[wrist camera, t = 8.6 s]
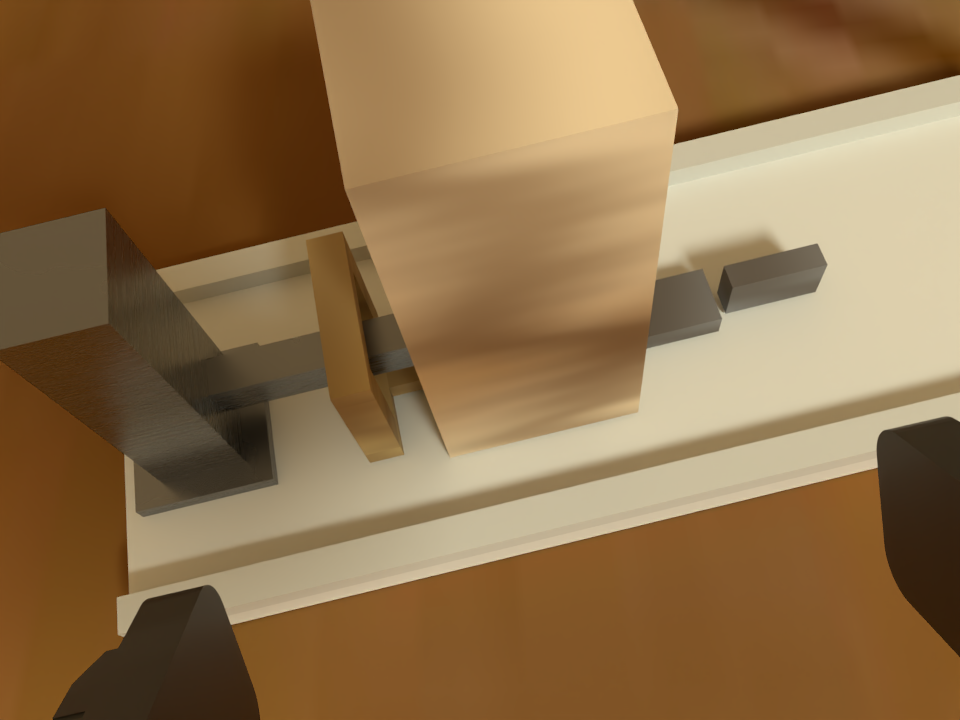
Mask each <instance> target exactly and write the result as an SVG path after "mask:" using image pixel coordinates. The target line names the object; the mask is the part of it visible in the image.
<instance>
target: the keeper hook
mask: <svg viewBox="0 0 960 720" xmlns="http://www.w3.org/2000/svg"><path fill="white" fill-rule="evenodd" d="M362 325H363V331H364V336H365V342H366V347H367V353H368V359H369V364H370V369H371V371H372V373H373V375H379V374H383V373H387V372H391V371H395V370H399V369H403V368H407V367H412V366H414V365H413V362H412V359H411V357H410V354H409V352H408V349H407V347H406V344H405V342H404V339H403V337H402V334H401V331H400V329H399V326H398V324H397V321H396V319H395V316H394V314H389V315H385V316H381V317H377V318H373V319H368V320H364V321H362ZM0 360H1V361H2V362H3V363H5V364H6V365H7V366H9V367H10V368H11V369H13V370H14V371H15V372H17V373H18V374H19V375H21V376H22V377H23V378H25V379H26V380H27V381H29V382H30V383H31V384H32V385H34V386H35V387H36V388H38V389H39V390H40V391H42V392H43V393H44V394H46V395H47V396H48V397H50V398H51V399H52V400H54V401H55V402H56V403H58V404H59V405H60V406H61V407H63V408H64V409H65V410H67V411H68V412H69V413H71V414H72V415H73V416H75V417H76V418H77V419H79V420H80V421H81V422H83V423H84V424H85V425H87V426H88V427H89V428H90V429H92V430H93V431H94V432H96V433H97V434H98V435H100V436H101V437H102V438H104V439H105V440H106V441H108V442H109V443H110V444H112V445H113V446H114V447H116V448H117V449H118V450H119V451H121V452H122V453H123V454H125V455H126V456H127V457H129V458H130V459H131V460H133V461H134V485H135V510H136V513H138V514H139V515H141V516H142V517H146V516H150V515H154V514H159V513H163V512H167V511H171V510H175V509H179V508H183V507H187V506H191V505H196V504H200V503H204V502H208V501H212V500H216V499H220V498H224V497H228V496H233V495H237V494H241V493H245V492H249V491H253V490H257V489H261V488H266V487H270V486H274V485H278V476H277V468H276V459H275V451H274V442H273V434H272V425H271V417H270V408H269V401H272V400H276V399H280V398H284V397H288V396H292V395H296V394H300V393H304V392H309V391H313V390H317V389H321V388H325V387H328V383H327V376H326V370H325V363H324V357H323V350H322V344H321V337H320V331H319V332H315V333H311V334H307V335H302V336H298V337H294V338H290V339H286V340H282V341H278V342H274V343H269V344H265V345H261V346H260V345H259V344H258V343H253V344H249V345H245V346H240V347H236V348H232V349H228V350H224V351H220V350H219V348H218V347H217V346H216V345H215V343H214V342H213V341H212V340H211V338H210V337H209V336H208V335H207V333H206V332H205V331H204V330H203V328H202V327H201V326H200V325H199V323H198V322H197V321H196V320H195V318H194V317H193V316H192V315H191V314H190V312H189V311H188V310H187V309H186V307H185V306H184V305H183V304H182V302H181V301H180V300H179V299H178V297H177V296H176V295H175V294H174V292H173V291H172V290H171V289H170V287H169V286H168V285H167V284H166V283H165V281H164V280H163V279H162V278H161V276H160V275H159V274H158V273H157V271H156V270H155V269H154V268H153V266H152V265H151V264H150V263H149V261H148V260H147V259H146V258H145V256H144V255H143V254H142V253H141V251H140V250H139V249H138V248H137V247H136V245H135V244H134V243H133V242H132V240H131V239H130V238H129V237H128V235H127V234H126V233H125V232H124V230H123V229H122V228H121V227H120V225H119V224H118V223H117V222H116V220H115V219H114V218H113V217H112V215H111V214H110V213H109V212H108V211H107V209H106V208H102V209H98V210H94V211H90V212H86V213H82V214H78V215H73V216H69V217H65V218H61V219H57V220H53V221H49V222H45V223H40V224H36V225H32V226H28V227H24V228H20V229H16V230H12V231H7V232H3V233H0Z"/></svg>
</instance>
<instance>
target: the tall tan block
mask: <svg viewBox="0 0 960 720" xmlns="http://www.w3.org/2000/svg"><path fill="white" fill-rule="evenodd" d="M310 2H311V8H312V13H313V19H314V24H315V30H316V35H317V40H318V46H319V51H320V57H321V62H322V68H323V73H324V79H325V84H326V89H327V95H328V100H329V106H330V111H331V117H332V122H333V128H334V133H335V139H336V144H337V149H338V155H339V160H340V166H341V171H342V177H343V182H344V188H345V191H346V194H347V196H348V199H349V201H350V204H351V207H352V209H353V212H354V214H355V217H356V219H357V222H358V224H359V227H360V229H361V232H362V235H363V237H364V240H365V242H366V245H367V247H368V250H369V252H370V255H371V258H372V260H373V263H374V265H375V268H376V270H377V273H378V275H379V278H380V280H381V283H382V286H383V288H384V291H385V293H386V296H387V298H388V301H389V303H390V306H391V308H392V311H393V314H394V316H395V319H396V321H397V324H398V326H399V329H400V331H401V334H402V337H403V339H404V342H405V344H406V347H407V349H408V352H409V354H410V357H411V359H412V362H413V365H414V366H412V367H407V368H403V369H399V370H395V371H391V372H387V373H383V374H379V375H373V373H372V371H371V369H370V364H369V359H368V353H367V347H366V342H365V336H364V331H363V325H362V321H364V320H368V319H373V318H377V317H378V314H377V311H376V309H375V307H374V304H373V302H372V300H371V297H370V295H369V293H368V290H367V288H366V285H365V283H364V281H363V278H362V276H361V274H360V271H359V269H358V267H357V264H356V262H355V260H354V257H353V255H352V253H351V250H350V248H349V245H348V243H347V241H346V238H345V236H344V234H343V231H341V232H337V233H333V234H329V235H325V236H321V237H317V238H313V239H308V240H306V246H307V252H308V259H309V265H310V272H311V278H312V285H313V291H314V298H315V305H316V311H317V318H318V324H319V331H320V337H321V344H322V350H323V357H324V363H325V370H326V376H327V383H328V390H329V396H330V400H331V402H332V403H333V405H334V407H335V408H336V410H337V411H338V413H339V414H340V416H341V418H342V419H343V421H344V422H345V424H346V426H347V427H348V429H349V430H350V432H351V433H352V435H353V437H354V438H355V440H356V441H357V443H358V445H359V446H360V448H361V449H362V451H363V452H364V454H365V456H366V457H367V459H368V460H369V462H370V463H372V462H376V461H380V460H384V459H389V458H393V457H397V456H401V455H404V451H403V445H402V440H401V435H400V429H399V424H398V419H397V414H396V408H395V403H394V398H393V396H397V395H401V394H405V393H410V392H414V391H418V390H422V389H423V390H424V393H425V395H426V398H427V400H428V403H429V405H430V408H431V410H432V413H433V416H434V418H435V421H436V423H437V426H438V428H439V431H440V433H441V436H442V438H443V441H444V444H445V446H446V449H447V451H448V454H449V456H450V458H452V457H456V456H460V455H464V454H468V453H472V452H476V451H480V450H485V449H489V448H493V447H497V446H501V445H505V444H509V443H513V442H517V441H522V440H526V439H530V438H534V437H538V436H542V435H546V434H550V433H554V432H559V431H563V430H567V429H571V428H575V427H579V426H583V425H587V424H592V423H596V422H600V421H604V420H608V419H612V418H616V417H620V416H624V415H629V414H633V413H637V412H638V409H639V402H640V394H641V387H642V379H643V371H644V364H645V356H646V349H647V348H651V347H655V346H660V345H664V344H668V343H672V342H676V341H680V340H684V339H688V338H693V337H697V336H701V335H705V334H709V333H713V332H717V331H719V328H720V325H721V321H722V317H721V315H720V312H719V310H718V307H717V304H716V302H715V299H714V297H713V294H712V292H711V289H710V287H709V284H708V282H707V279H706V277H705V274H704V272H703V269H699V270H695V271H691V272H687V273H683V274H679V275H675V276H670V277H666V278H662V279H658V280H656V273H657V266H658V258H659V251H660V243H661V236H662V228H663V220H664V213H665V205H666V198H667V190H668V183H669V175H670V168H671V160H672V153H673V145H674V137H675V130H676V122H677V115H678V107H677V105H676V102H675V100H674V97H673V95H672V93H671V90H670V88H669V86H668V83H667V81H666V78H665V76H664V74H663V71H662V69H661V67H660V64H659V62H658V59H657V57H656V55H655V52H654V50H653V48H652V45H651V43H650V40H649V38H648V36H647V33H646V31H645V29H644V26H643V24H642V21H641V19H640V17H639V14H638V12H637V10H636V7H635V5H634V2H633V0H310ZM826 267H827V262H826V260H825V258H824V256H823V254H822V252H821V250H820V248H819V245H818V243H817V244H813V245H808V246H804V247H800V248H796V249H792V250H788V251H784V252H780V253H776V254H771V255H767V256H763V257H759V258H755V259H751V260H747V261H743V262H738V263H734V264H730V265H726V266H724V267H723V271H722V275H721V279H720V283H719V287H718V291H717V294H718V296H719V299H720V301H721V304H722V306H723V309H724V311H725V314H727V313H731V312H735V311H739V310H743V309H747V308H751V307H755V306H760V305H764V304H768V303H772V302H776V301H780V300H784V299H788V298H792V297H797V296H801V295H805V294H809V293H813V292H816V290H817V287H818V285H819V283H820V281H821V279H822V276H823V274H824V272H825V270H826Z"/></svg>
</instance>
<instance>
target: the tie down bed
mask: <svg viewBox="0 0 960 720" xmlns="http://www.w3.org/2000/svg"><path fill="white" fill-rule="evenodd" d="M341 231H343V234H344V236H345V238H346V241H347V243H348V245H349V248H350V250H351V253H352V255H353V257H354V260H355V262H356V264H357V267H358V269H359V271H360V274H361V276H362V278H363V281H364V283H365V285H366V288H367V290H368V293H369V295H370V297H371V300H372V302H373V304H374V307H375V309H376V311H377V314H378V317H381V316H385V315H389V314H393V311H392V308H391V306H390V303H389V301H388V298H387V296H386V293H385V291H384V288H383V286H382V283H381V280H380V278H379V275H378V273H377V270H376V268H375V265H374V263H373V260H372V258H371V255H370V252H369V250H368V247H367V245H366V242H365V240H364V237H363V235H362V232H361V229H360V227H359V224H358V222H357V221H356V222H352V223H348V224H344V225H340V226H335V227H331V228H327V229H323V230H319V231H315V232H311V233H307V234H302V235H298V236H294V237H290V238H286V239H282V240H278V241H274V242H269V243H265V244H261V245H257V246H253V247H249V248H245V249H241V250H236V251H232V252H228V253H224V254H220V255H216V256H212V257H208V258H203V259H199V260H195V261H191V262H187V263H183V264H179V265H175V266H170V267H166V268H162V269H158V270H156V271H157V273H158V274H159V275H160V276H161V278H162V279H163V280H164V281H165V283H166V284H167V285H168V286H169V287H170V289H171V290H172V291H173V292H174V294H175V295H176V296H177V297H178V299H179V300H180V301H181V302H182V304H183V305H184V306H185V307H186V309H187V310H188V311H189V312H190V314H191V315H192V316H193V317H194V318H195V320H196V321H197V322H198V323H199V325H200V326H201V327H202V328H203V330H204V331H205V332H206V333H207V335H208V336H209V337H210V338H211V340H212V341H213V342H214V343H215V345H216V346H217V347H218V348H219V350H220V351H224V350H228V349H232V348H236V347H240V346H245V345H249V344H253V343H258V344H259V345H260V346H261V345H265V344H269V343H274V342H278V341H282V340H286V339H290V338H294V337H298V336H302V335H307V334H311V333H315V332H319V324H318V318H317V311H316V305H315V298H314V291H313V285H312V278H311V272H310V265H309V259H308V252H307V246H306V240H308V239H313V238H317V237H321V236H325V235H329V234H333V233H337V232H341ZM817 243H818V245H819V248H820V250H821V252H822V254H823V256H824V258H825V260H826V262H827V267H826V270H825V272H824V274H823V276H822V279H821V281H820V283H819V285H818V287H817V290H816V292H813V293H809V294H805V295H801V296H797V297H792V298H788V299H784V300H780V301H776V302H772V303H768V304H764V305H760V306H755V307H751V308H747V309H743V310H739V311H735V312H731V313H727V314H725V311H724V309H723V306H722V304H721V301H720V299H719V296H718V294H717V291H718V287H719V283H720V279H721V275H722V271H723V267H724V266H726V265H730V264H734V263H738V262H743V261H747V260H751V259H755V258H759V257H763V256H767V255H771V254H776V253H780V252H784V251H788V250H792V249H796V248H800V247H804V246H808V245H813V244H817ZM699 269H703V272H704V274H705V277H706V279H707V282H708V284H709V287H710V289H711V292H712V294H713V297H714V299H715V302H716V304H717V307H718V310H719V312H720V315H721V317H722V321H721V325H720V328H719V331H717V332H713V333H709V334H705V335H701V336H697V337H693V338H688V339H684V340H680V341H676V342H672V343H668V344H664V345H660V346H655V347H651V348H647V349H646V356H645V364H644V371H643V379H642V387H641V394H640V402H639V409H638V412H637V413H633V414H629V415H624V416H620V417H616V418H612V419H608V420H604V421H600V422H596V423H592V424H587V425H583V426H579V427H575V428H571V429H567V430H563V431H559V432H554V433H550V434H546V435H542V436H538V437H534V438H530V439H526V440H522V441H517V442H513V443H509V444H505V445H501V446H497V447H493V448H489V449H485V450H480V451H476V452H472V453H468V454H464V455H460V456H456V457H452V458H450V456H449V454H448V451H447V449H446V446H445V444H444V441H443V438H442V436H441V433H440V431H439V428H438V426H437V423H436V421H435V418H434V416H433V413H432V410H431V408H430V405H429V403H428V400H427V398H426V395H425V393H424V390H423V389H422V390H418V391H414V392H410V393H405V394H401V395H397V396H393V398H394V403H395V408H396V414H397V419H398V424H399V429H400V435H401V440H402V445H403V451H404V455H401V456H397V457H393V458H389V459H384V460H380V461H376V462H372V463H370V462H369V460H368V459H367V457H366V456H365V454H364V452H363V451H362V449H361V448H360V446H359V445H358V443H357V441H356V440H355V438H354V437H353V435H352V433H351V432H350V430H349V429H348V427H347V426H346V424H345V422H344V421H343V419H342V418H341V416H340V414H339V413H338V411H337V410H336V408H335V407H334V405H333V403H332V402H331V400H330V396H329V390H328V387H325V388H321V389H317V390H313V391H309V392H304V393H300V394H296V395H292V396H288V397H284V398H280V399H276V400H272V401H269V408H270V417H271V425H272V434H273V442H274V451H275V459H276V468H277V476H278V485H274V486H270V487H266V488H261V489H257V490H253V491H249V492H245V493H241V494H237V495H233V496H228V497H224V498H220V499H216V500H212V501H208V502H204V503H200V504H196V505H191V506H187V507H183V508H179V509H175V510H171V511H167V512H163V513H159V514H154V515H150V516H146V517H142V516H141V515H139V514H138V513H136V510H135V485H134V461H133V460H131V459H130V458H129V457H127V456H126V455H125V454H124V462H125V491H126V519H127V548H128V577H129V595H125V596H120V597H117V624H118V635H120V636H122V637H125V635H126V633H127V631H128V629H129V627H130V625H131V623H132V621H133V619H134V617H135V615H136V614H137V612H138V610H139V608H140V606H141V604H142V603H143V602H144V601H145V600H146V599H148V598H152V597H157V596H161V595H165V594H170V593H174V592H178V591H183V590H187V589H191V588H196V587H200V586H204V585H211V586H212V587H214V588H215V589H216V591H217V592H218V594H219V596H220V598H221V600H222V602H223V605H224V607H225V610H226V613H227V616H228V618H229V621H230V624H231V625H232V624H237V623H241V622H245V621H249V620H253V619H257V618H261V617H265V616H269V615H274V614H278V613H282V612H286V611H290V610H294V609H298V608H302V607H306V606H311V605H315V604H319V603H323V602H327V601H331V600H335V599H339V598H343V597H347V596H352V595H356V594H360V593H364V592H368V591H372V590H376V589H380V588H384V587H389V586H393V585H397V584H401V583H405V582H409V581H413V580H417V579H421V578H426V577H430V576H434V575H438V574H442V573H446V572H450V571H454V570H458V569H463V568H467V567H471V566H475V565H479V564H483V563H487V562H491V561H495V560H500V559H504V558H508V557H512V556H516V555H520V554H524V553H528V552H532V551H537V550H541V549H545V548H549V547H553V546H557V545H561V544H565V543H569V542H574V541H578V540H582V539H586V538H590V537H594V536H598V535H602V534H606V533H611V532H615V531H619V530H623V529H627V528H631V527H635V526H639V525H643V524H648V523H652V522H656V521H660V520H664V519H668V518H672V517H676V516H680V515H685V514H689V513H693V512H697V511H701V510H705V509H709V508H713V507H717V506H722V505H726V504H730V503H734V502H738V501H742V500H746V499H750V498H754V497H759V496H763V495H767V494H771V493H775V492H779V491H783V490H787V489H791V488H796V487H800V486H804V485H808V484H812V483H816V482H820V481H824V480H828V479H833V478H837V477H841V476H845V475H849V474H853V473H857V472H861V471H865V470H870V469H874V468H878V464H877V451H876V448H877V440H878V437H879V435H880V433H881V432H882V431H884V430H887V429H892V428H896V427H900V426H905V425H909V424H913V423H918V422H922V421H926V420H931V419H935V418H939V417H944V416H949V417H952V418H954V419H956V420H958V421H959V422H960V75H958V76H954V77H950V78H946V79H942V80H938V81H933V82H929V83H925V84H921V85H917V86H913V87H909V88H905V89H900V90H896V91H892V92H888V93H884V94H880V95H876V96H872V97H867V98H863V99H859V100H855V101H851V102H847V103H843V104H839V105H834V106H830V107H826V108H822V109H818V110H814V111H810V112H806V113H801V114H797V115H793V116H789V117H785V118H781V119H777V120H773V121H768V122H764V123H760V124H756V125H752V126H748V127H744V128H740V129H735V130H731V131H727V132H723V133H719V134H715V135H711V136H707V137H703V138H698V139H694V140H690V141H686V142H682V143H678V144H674V145H673V153H672V160H671V168H670V175H669V183H668V190H667V198H666V205H665V213H664V220H663V228H662V236H661V243H660V251H659V258H658V266H657V273H656V280H658V279H662V278H666V277H670V276H675V275H679V274H683V273H687V272H691V271H695V270H699Z"/></svg>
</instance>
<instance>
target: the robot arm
mask: <svg viewBox="0 0 960 720" xmlns="http://www.w3.org/2000/svg"><path fill="white" fill-rule="evenodd" d="M876 451H877V464H878V476H879V487H880V498H881V510H882V521H883V532H884V543H885V551H886V556H887V560H888V563H889V567H890V569H891V572H892V575H893V577H894V579H895V581H896V583H897V585H898V587H899V589H900V591H901V592H902V594H903V595H904V597H905V598H906V599H907V601H908V602H909V603H910V604H911V605H912V606H913V607H914V608H915V609H916V610H917V611H918V612H919V614H920V615H921V616H922V617H923V618H924V619H925V620H926V621H927V622H928V623H929V624H930V625H931V626H932V628H933V629H934V630H935V631H936V632H937V633H938V634H939V635H940V636H941V637H942V638H943V639H944V640H945V642H946V643H947V644H948V645H949V646H950V647H951V648H952V649H953V650H954V651H955V652H956V653H957V654H958V655H959V657H960V422H959V421H958V420H956V419H954V418H952V417H949V416H944V417H939V418H935V419H931V420H926V421H922V422H918V423H913V424H909V425H905V426H900V427H896V428H892V429H887V430H884V431H882V432H881V433H880V435H879V437H878V440H877V448H876ZM53 720H260V715H259V708H258V703H257V698H256V694H255V691H254V688H253V685H252V682H251V679H250V677H249V674H248V671H247V668H246V666H245V663H244V660H243V657H242V655H241V652H240V649H239V646H238V643H237V641H236V638H235V635H234V632H233V630H232V627H231V624H230V621H229V618H228V616H227V613H226V610H225V607H224V605H223V602H222V600H221V598H220V596H219V594H218V592H217V591H216V589H215V588H214V587H212V586H211V585H204V586H200V587H196V588H191V589H187V590H183V591H178V592H174V593H170V594H165V595H161V596H157V597H152V598H148V599H146V600H145V601H144V602H143V603H142V604H141V606H140V608H139V610H138V612H137V614H136V615H135V617H134V619H133V621H132V623H131V625H130V627H129V629H128V631H127V633H126V635H125V637H124V638H123V640H122V642H121V644H120V646H119V648H118V649H114V650H109V651H106V652H105V653H104V654H103V655H102V656H101V657H100V658H99V659H98V660H97V661H96V662H95V663H93V664H92V665H91V666H90V667H89V668H88V669H87V670H86V671H85V672H84V673H83V674H82V675H81V676H80V677H79V678H78V679H77V680H76V681H75V682H74V683H73V684H72V685H71V687H70V689H69V691H68V692H67V694H66V696H65V698H64V699H63V701H62V703H61V705H60V707H59V708H58V710H57V712H56V714H55V715H54V717H53Z"/></svg>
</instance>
